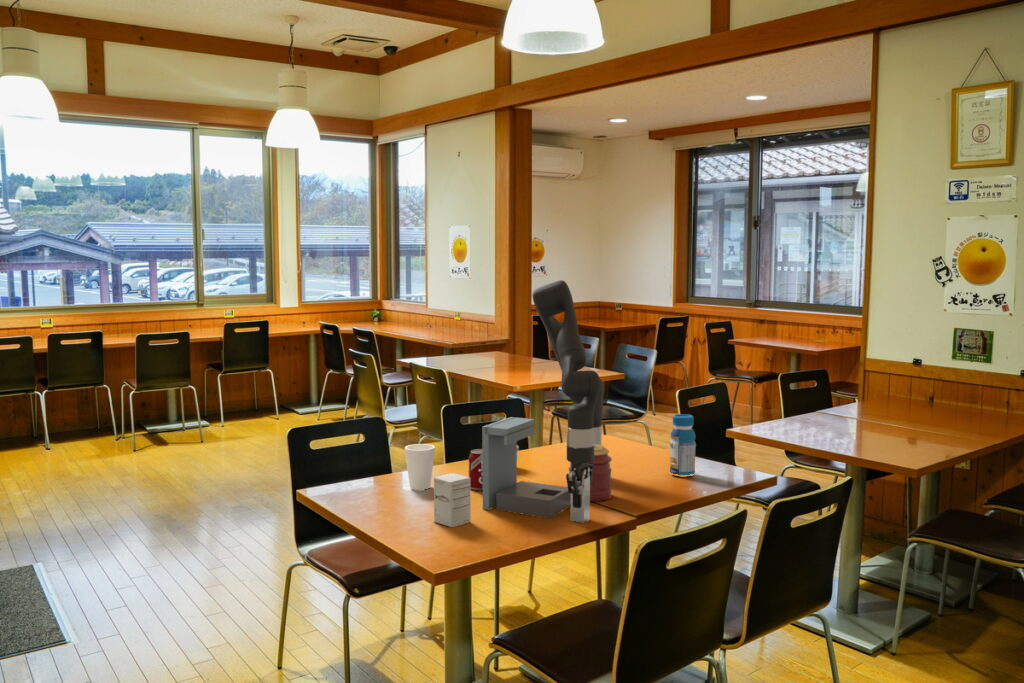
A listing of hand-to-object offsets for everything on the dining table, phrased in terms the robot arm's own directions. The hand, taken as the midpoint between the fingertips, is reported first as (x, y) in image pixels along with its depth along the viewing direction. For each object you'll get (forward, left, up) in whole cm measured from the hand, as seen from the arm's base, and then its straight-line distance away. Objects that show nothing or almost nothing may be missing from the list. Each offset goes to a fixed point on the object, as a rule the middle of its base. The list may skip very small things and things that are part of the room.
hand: (580, 505), depth 229 cm
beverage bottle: (-61, +10, -4) cm, 62 cm away
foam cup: (-7, -58, -4) cm, 59 cm away
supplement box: (+18, -30, -5) cm, 35 cm away
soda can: (-15, -41, -5) cm, 44 cm away
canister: (-23, -7, -5) cm, 24 cm away
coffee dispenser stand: (-5, -25, -4) cm, 26 cm away
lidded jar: (-41, -47, -5) cm, 63 cm away
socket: (-5, -16, -4) cm, 18 cm away
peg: (0, 0, -4) cm, 4 cm away
